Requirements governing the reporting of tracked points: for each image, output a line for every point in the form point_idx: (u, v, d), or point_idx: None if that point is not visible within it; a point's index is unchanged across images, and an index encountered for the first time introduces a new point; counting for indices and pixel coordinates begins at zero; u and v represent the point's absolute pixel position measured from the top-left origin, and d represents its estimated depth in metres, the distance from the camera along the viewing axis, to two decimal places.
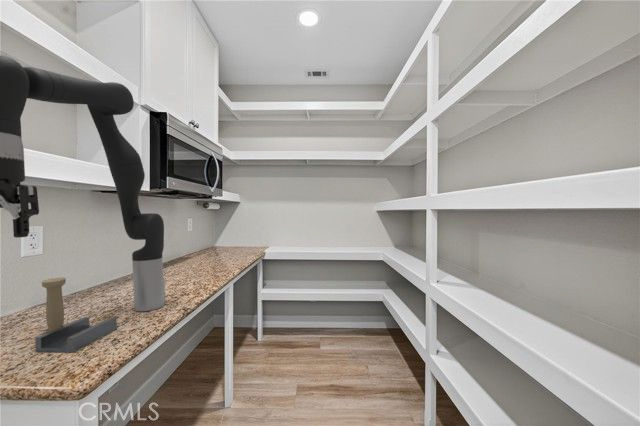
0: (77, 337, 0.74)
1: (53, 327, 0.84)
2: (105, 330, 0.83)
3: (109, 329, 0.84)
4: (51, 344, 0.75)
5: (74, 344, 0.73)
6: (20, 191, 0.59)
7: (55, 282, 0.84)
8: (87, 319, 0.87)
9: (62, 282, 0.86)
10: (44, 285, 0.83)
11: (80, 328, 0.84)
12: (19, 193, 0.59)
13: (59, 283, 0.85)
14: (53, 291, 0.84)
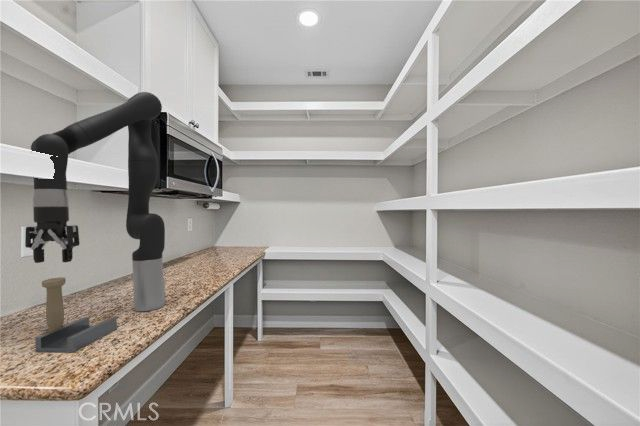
0: (77, 337, 0.74)
1: (53, 327, 0.84)
2: (105, 330, 0.83)
3: (109, 329, 0.84)
4: (51, 344, 0.75)
5: (74, 344, 0.73)
6: (67, 230, 0.84)
7: (55, 282, 0.84)
8: (87, 319, 0.87)
9: (62, 282, 0.86)
10: (44, 285, 0.83)
11: (80, 328, 0.84)
12: (67, 231, 0.84)
13: (59, 283, 0.85)
14: (53, 291, 0.84)
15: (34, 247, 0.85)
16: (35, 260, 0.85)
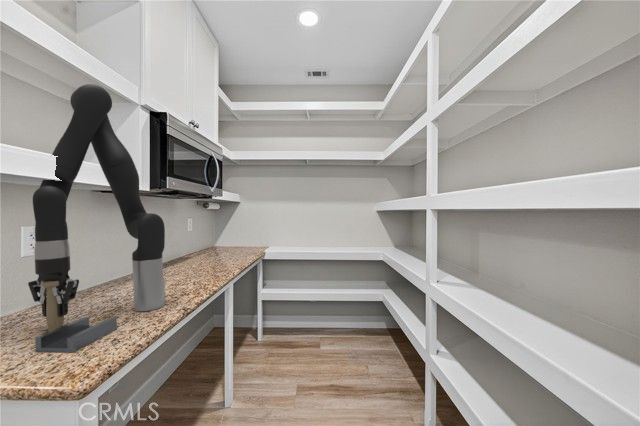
0: (77, 337, 0.74)
1: (53, 327, 0.84)
2: (105, 330, 0.83)
3: (109, 329, 0.84)
4: (51, 344, 0.75)
5: (74, 344, 0.73)
6: (68, 285, 0.84)
7: (55, 282, 0.84)
8: (87, 319, 0.87)
9: None
10: (44, 285, 0.83)
11: (80, 328, 0.84)
12: (67, 286, 0.84)
13: None
14: None
15: (43, 301, 0.85)
16: (44, 314, 0.85)
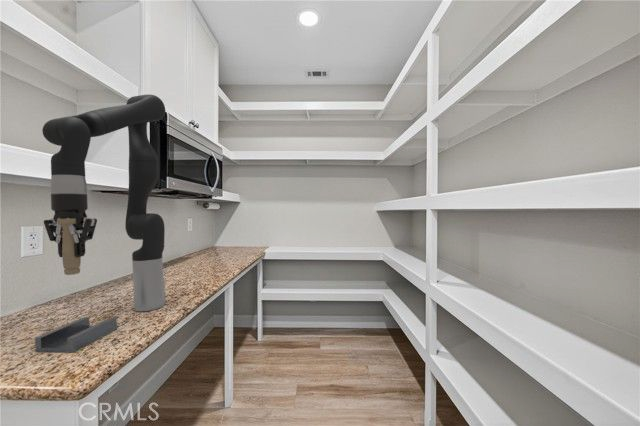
0: (77, 337, 0.74)
1: (69, 268, 0.79)
2: (105, 330, 0.83)
3: (109, 329, 0.84)
4: (51, 344, 0.75)
5: (74, 344, 0.73)
6: (85, 223, 0.79)
7: (72, 219, 0.78)
8: (87, 319, 0.87)
9: None
10: (60, 222, 0.77)
11: (80, 328, 0.84)
12: (84, 224, 0.79)
13: None
14: None
15: (59, 240, 0.80)
16: (60, 254, 0.80)
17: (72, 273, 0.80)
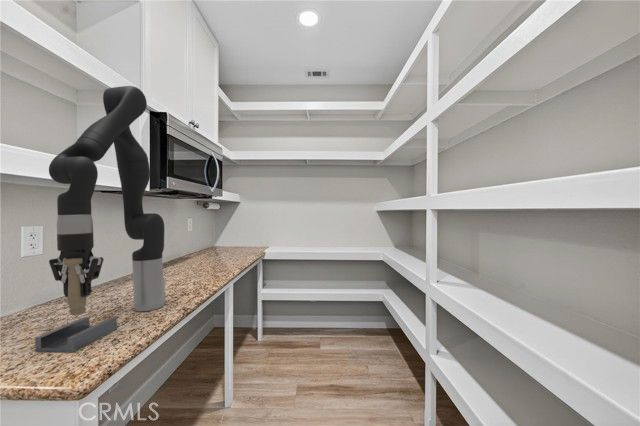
0: (77, 337, 0.74)
1: (75, 308, 0.78)
2: (105, 330, 0.83)
3: (109, 329, 0.84)
4: (51, 344, 0.75)
5: (74, 344, 0.73)
6: (92, 263, 0.78)
7: (78, 259, 0.78)
8: (87, 319, 0.87)
9: None
10: (66, 262, 0.77)
11: (80, 328, 0.84)
12: (91, 264, 0.78)
13: (82, 261, 0.78)
14: (75, 269, 0.78)
15: (64, 280, 0.79)
16: (65, 294, 0.79)
17: (78, 313, 0.79)
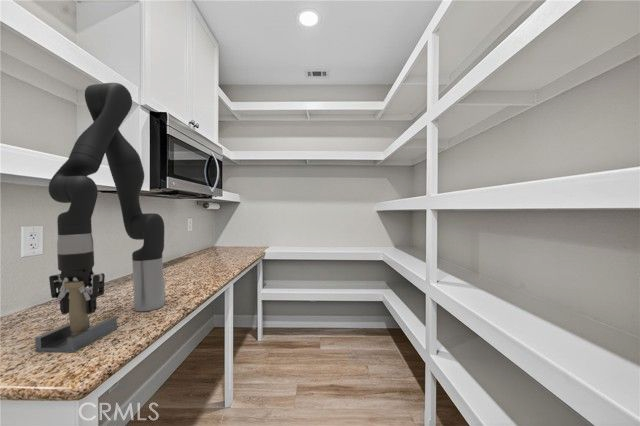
0: (77, 337, 0.74)
1: (77, 331, 0.78)
2: (105, 330, 0.83)
3: (109, 329, 0.84)
4: (51, 344, 0.75)
5: (74, 344, 0.73)
6: (94, 279, 0.78)
7: (79, 283, 0.77)
8: None
9: None
10: (67, 286, 0.76)
11: None
12: (93, 281, 0.78)
13: (83, 284, 0.78)
14: (76, 292, 0.78)
15: (61, 298, 0.79)
16: (62, 311, 0.79)
17: None
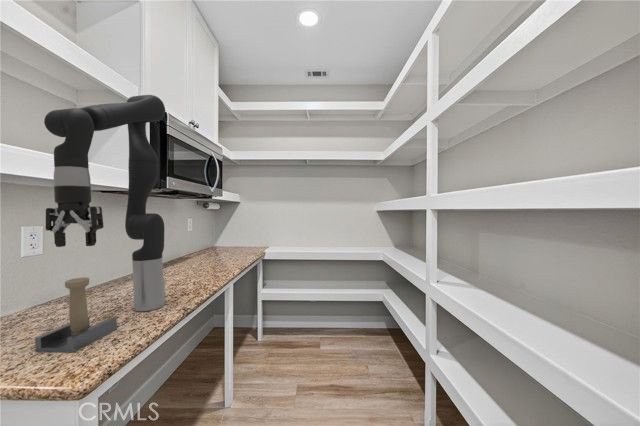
0: (77, 337, 0.74)
1: (77, 331, 0.79)
2: (105, 330, 0.83)
3: (109, 329, 0.84)
4: (51, 344, 0.75)
5: (74, 344, 0.73)
6: (91, 211, 0.78)
7: (79, 282, 0.78)
8: None
9: (86, 282, 0.80)
10: (68, 286, 0.77)
11: None
12: (90, 212, 0.78)
13: (83, 283, 0.79)
14: (77, 292, 0.79)
15: (55, 230, 0.79)
16: (56, 244, 0.79)
17: None
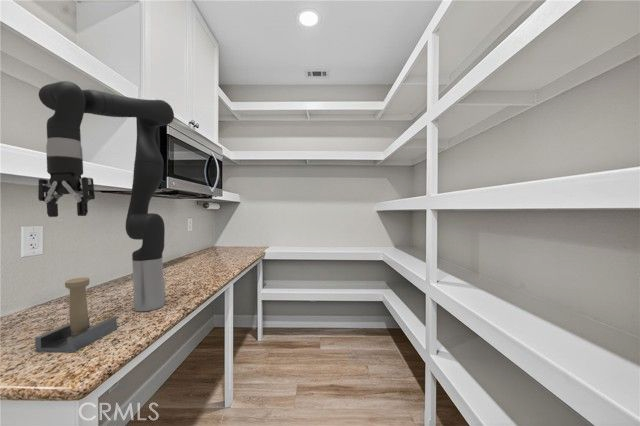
0: (77, 337, 0.74)
1: (77, 331, 0.79)
2: (105, 330, 0.83)
3: (109, 329, 0.84)
4: (51, 344, 0.75)
5: (74, 344, 0.73)
6: (82, 181, 0.80)
7: (79, 283, 0.78)
8: None
9: (86, 282, 0.80)
10: (68, 286, 0.77)
11: None
12: (82, 183, 0.80)
13: (83, 284, 0.79)
14: (77, 292, 0.79)
15: (48, 200, 0.81)
16: (49, 214, 0.81)
17: None
